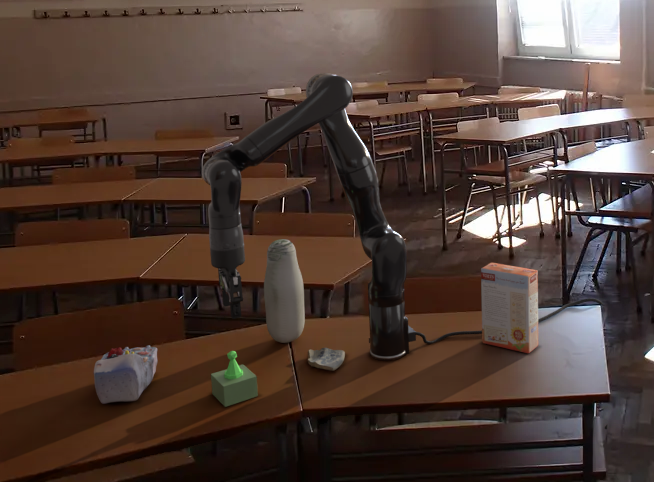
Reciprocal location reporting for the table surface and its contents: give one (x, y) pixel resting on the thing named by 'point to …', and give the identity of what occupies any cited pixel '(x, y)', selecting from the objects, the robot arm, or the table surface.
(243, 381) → the green block
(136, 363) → the cell model
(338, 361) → the ceramic fragment
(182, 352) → the table surface
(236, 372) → the game piece
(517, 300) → the cracker box
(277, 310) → the white bottle
